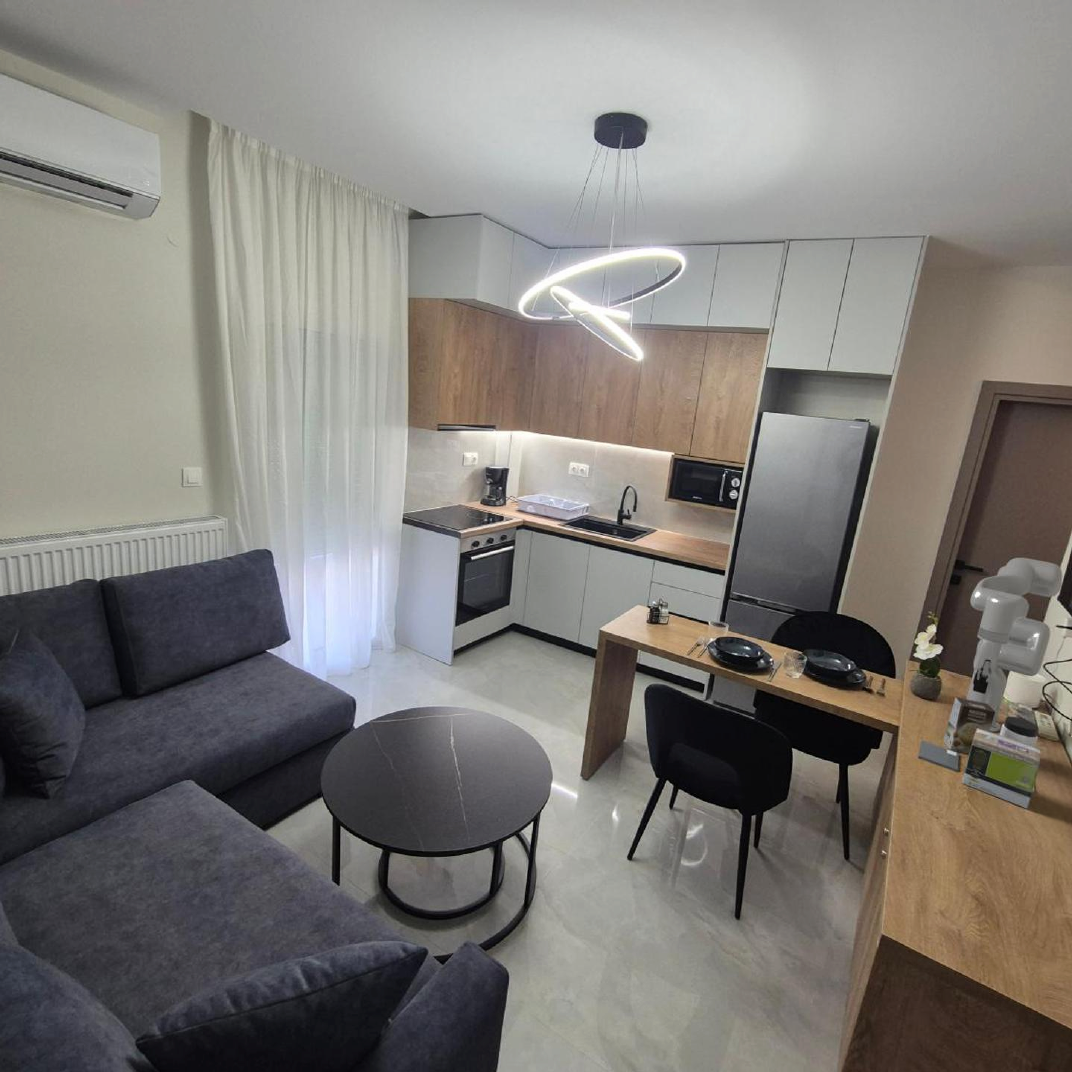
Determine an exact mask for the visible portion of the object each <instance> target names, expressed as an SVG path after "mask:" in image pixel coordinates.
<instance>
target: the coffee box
mask: <svg viewBox="0 0 1072 1072" xmlns="http://www.w3.org/2000/svg"><path fill="white" fill-rule="evenodd" d="M994 715H995V711H994V710H993V709H992V708H991V707H990V706H989V705H988V704H986V703H981V702H977V701H972V700H968V699H967V698H963V697H958V696H956V697H955V699H954V702H953V705H952V709H951V712H950V716H949V719H948V723H947V727H946V730H945V734H944V737H943V742H944V743H945V745H946V746H947V749H949V750H951V751H954V752H957V753H962V754H966V755H969V753H970V749H971V746H972V742H973V738H974V735H975V732H976V729H977V728H979V729H982V730H985V731H988V732H991V731H990V729H991V725H992V722H993V718H994Z"/></svg>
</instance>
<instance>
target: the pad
mask: <svg viewBox="0 0 1072 1072" xmlns="http://www.w3.org/2000/svg"><path fill="white" fill-rule="evenodd" d="M918 752H919V753H918V756H917V757H918V759H920V760H923V761H924V762H925V761H926V762H928V763H931V764H935V765H937V766H939V767H942V768H945V769H948V770H950V771H954V772H959V771H958V770H959V755H960V754H959V753H960V752H958V751H953V750H950V749H949V748H945V747H943V746H939V745H936V744H933V743H931V742H928V741H925V740H921V741H920V747H919V751H918Z"/></svg>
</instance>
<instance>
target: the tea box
mask: <svg viewBox="0 0 1072 1072" xmlns="http://www.w3.org/2000/svg"><path fill="white" fill-rule="evenodd" d="M1041 753H1042V748H1039V747H1036V746H1035V747H1033V746H1030V745H1027V744H1024V743H1021V742H1018V741H1015V740H1012V739H1009V738H1006V737H1003V736H1000V734H997V733H994V732H991V731H990V732H988V731H985V730H982V729H979V728H977V729H976V732H975V735H974V738H973V742H972V746H971V749H970V753H969V754H968V758H967V762H966V765H965V768H964V775H963V777H962V784H963V785H967V786H969V787H971V788H974V789H976V790H979V791H981V792H984V793H987V794H989V795H992V796H995V797H997V798H1000V799H1001V800H1004V801H1007V802H1009V803H1012V804H1013V805H1017V806H1019V807H1022V808H1025V809H1028V808H1029V804H1030V803H1031V802H1030V801H1031V798H1032V794H1033V793H1032V791H1033V787H1035V784H1036V780H1037V776H1038V773H1039V769H1040V765H1041Z"/></svg>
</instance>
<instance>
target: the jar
mask: <svg viewBox="0 0 1072 1072" xmlns="http://www.w3.org/2000/svg"><path fill="white" fill-rule="evenodd" d="M1039 729H1040V727H1039V726H1038V725H1037V724H1035V723H1034V722H1031V721H1029V720H1027V719H1024V718H1021V717H1017V716H1007V717H1006V718H1005V721H1004V723H1002V725H1001V728H1000V730H999V735H1000V736H1003V737H1006V738H1009V739H1012V740H1015V741H1018V742H1021V743H1024V744H1027V745H1030V746H1033V747H1036V746H1037V744H1038V743H1037V742H1038V739H1039V736H1038V732H1039Z"/></svg>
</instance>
